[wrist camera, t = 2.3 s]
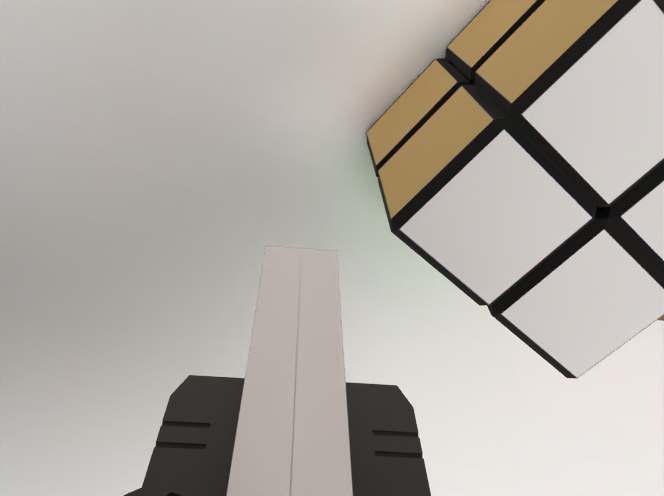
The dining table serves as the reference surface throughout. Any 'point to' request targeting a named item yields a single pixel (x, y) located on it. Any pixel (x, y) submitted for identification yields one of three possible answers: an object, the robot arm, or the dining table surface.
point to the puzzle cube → (539, 171)
